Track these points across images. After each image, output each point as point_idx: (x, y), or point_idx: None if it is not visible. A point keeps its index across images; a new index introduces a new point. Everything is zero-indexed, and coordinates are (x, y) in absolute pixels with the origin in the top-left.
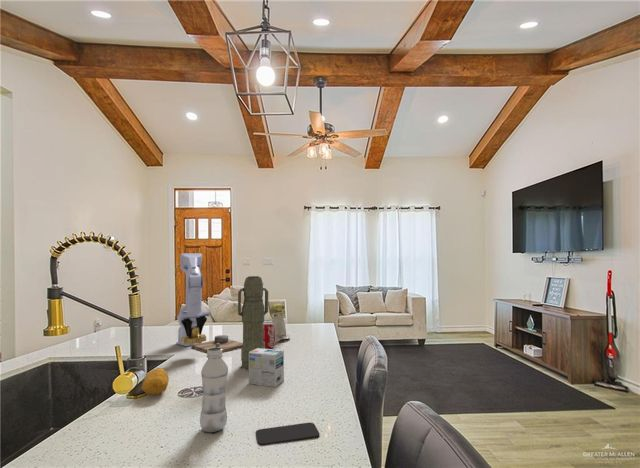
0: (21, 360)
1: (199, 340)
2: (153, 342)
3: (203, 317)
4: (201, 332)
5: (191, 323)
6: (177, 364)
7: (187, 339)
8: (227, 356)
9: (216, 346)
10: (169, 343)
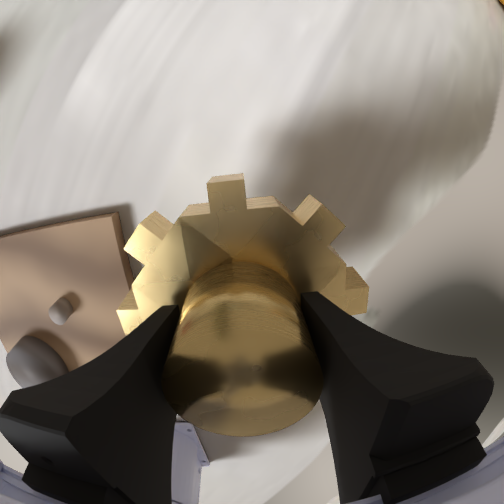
0: (490, 440)
1: (239, 176)
2: (264, 490)
3: (56, 474)
4: (154, 312)
5: (381, 374)
6: (377, 173)
7: (343, 261)
8: (77, 123)
9: (70, 307)
10: (228, 471)
